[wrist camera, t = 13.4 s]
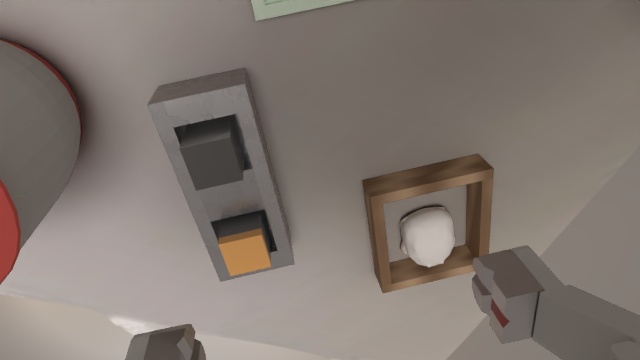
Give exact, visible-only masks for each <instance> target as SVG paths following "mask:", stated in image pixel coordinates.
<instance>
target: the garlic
mask: <svg viewBox="0 0 640 360" xmlns="http://www.w3.org/2000/svg"><path fill="white" fill-rule="evenodd" d="M400 227H401V236H402V239H403V241H402V244H401V250H402V251H403V252H404V253H405V254H407V253H408V255H409V257H410V258H411V259H412V260H413V261H415V262H416V263H417V264H419V265H422V266H427V267H428V268H429V267H432V266H436V265H438V264H443V263H444V260H445V259H446V258H447V257H448V256H449V255H450V253H451V250H452V249H453V247H454V245H455V237H454V226H453V221H452V218H451V216H450V214H449V213H448V212H447V211H446V210H445V208H444V207H429V208H424V209H420V210H418V211H415V212H413V213H412V214H410V215H408V216H406V217H405V218H403V219H402V220H401V222H400Z"/></svg>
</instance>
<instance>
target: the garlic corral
mask: <svg viewBox="0 0 640 360" xmlns="http://www.w3.org/2000/svg"><path fill="white" fill-rule="evenodd" d="M493 172H494V168H493V167H491V166H490V165H489V164H488V163H487V162H486V161H485V160H484V159H483V158H482V157H481V156H480V155H479V154H475V155H470V156H466V157H462V158H457V159H453V160H449V161H444V162H440V163H436V164H431V165H427V166H423V167H418V168H414V169H409V170H405V171H401V172H396V173H392V174H388V175H383V176H379V177H375V178H370V179H366V180H362V181H363V189H364V196H365V203H366V210H367V217H368V225H369V232H370V239H371V246H372V254H373V261H374V268H375V274H376V277H377V279H378V282H379V285H380V287H381V290H382V292H383V293H386V292H390V291H395V290H399V289H403V288H407V287H411V286H415V285H419V284H424V283H428V282H432V281H436V280H440V279H444V278H448V277H452V276H457V275H461V274H465V273H469V272H473V271H474V269H473V268H472V266H473V260H474V258H475V257H479V256H483V255H487V254H489V240H490V223H491V206H492V189H493ZM466 184H467V211H466V245H463V246H459V247H455V248H453V249H452V250H451V253H450V255H449V256H448V257H447V258H446V259H445V260H444V263H443V264H438V265H436V266H432V267H429V268H428V267H427V266H422V265H419V264H417V263H416V262H415V261H413V260H412V259H411V258H409V259H405V260H400V261H396V262H392V263H389V257H388V248H387V239H386V230H385V221H384V212H383V204H384V203H388V202H393V201H397V200H401V199H406V198H410V197H414V196H419V195H423V194H427V193H431V192H436V191H440V190H444V189H449V188H453V187H457V186H462V185H466Z"/></svg>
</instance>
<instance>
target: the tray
mask: <svg viewBox="0 0 640 360" xmlns="http://www.w3.org/2000/svg"><path fill="white" fill-rule="evenodd" d="M348 1H353V0H251V3H252V7H253V11H254V15H255V19H256V21H258V20H263V19H268V18H273V17H277V16H282V15H287V14H291V13H296V12H301V11H306V10H310V9H315V8H320V7H325V6H329V5H334V4H339V3H344V2H348Z"/></svg>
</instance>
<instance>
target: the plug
mask: <svg viewBox="0 0 640 360" xmlns="http://www.w3.org/2000/svg"><path fill="white" fill-rule="evenodd" d="M218 245H219V248H220V250H221V253H222V256H223V258H224V261H225V263H226V266H227V268H228V271H229V273H230V276H234V275H239V274H243V273H247V272H251V271H256V270H260V269H264V268H268V267H272V266H271V252H270V238H269V225H268V221H267V217H266V214H265V211H264V209H263V210H259V211H254V212H250V213H245V214H241V215H237V216H232V217H228V218H224V219H221V222H220V232H219V243H218Z"/></svg>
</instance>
